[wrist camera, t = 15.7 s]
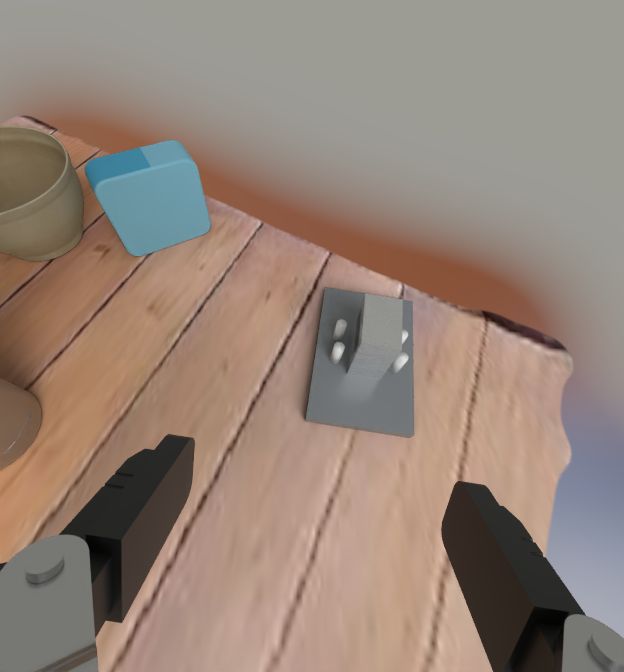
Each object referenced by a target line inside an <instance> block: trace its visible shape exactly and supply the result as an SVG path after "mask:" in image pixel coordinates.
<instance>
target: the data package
mask: <svg viewBox="0 0 624 672" xmlns="http://www.w3.org/2000/svg"><path fill="white" fill-rule="evenodd" d="M85 174H86V176H87V178H88V180H89V183H90V185H91V187H92V189H93V191H94V193H95V196H96V198H97V199H98V201H99V203H100V205H101V206H102V208H103V210H104V211H105V213H106V215H107V217H108V218H109V220H110V222H111V224H112V225H113V227H114V229H115V230H116V232H117V234H118V236H119V237H120V239H121V241H122V243H123V244H124V246H125V248H126V250H127V251H128V252H129V253H130V254H131V255H134V256H144V255H147V254H150V253H152V252H155V251H158V250H161V249H164V248H167V247H170V246H173V245H175V244H178V243H181V242H184V241H187V240H190V239H193V238H195V237H198V236H201V235H204V234H206V233H207V232H208V231H209V229H210V227H211V222H210V218H209V214H208V209H207V205H206V201H205V197H204V193H203V189H202V184H201V180H200V176H199V172H198V168H197V166H196V164H195V162H194V161H193V160H192V158H191V157H190V155H189V154H188V152H187V151H186V149H185V148H184V146H183V145H182V144H181V143H180V142H178V141H175V140H168V141H164V142H160V143H156V144H152V145H148V146H144V147H140V148H136V149H132V150H128V151H123V152H119V153H115V154H111V155H107V156H103V157H99V158H95V159H92V160H90V161H89V162H88V163H87V164H86V166H85Z"/></svg>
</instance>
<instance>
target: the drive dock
mask: <svg viewBox="0 0 624 672" xmlns="http://www.w3.org/2000/svg"><path fill="white" fill-rule="evenodd" d="M364 296H365V294H364V293H357V292H351V291H345V290H339V289H333V288H327V287H325V292H324V298H323V305H322V311H321V318H320V325H319V332H318V338H317V345H316V352H315V359H314V365H313V372H312V379H311V386H310V392H309V399H308V406H307V413H306V419H305V421H307V422H313V423H319V424H325V425H332V426H338V427H344V428H350V429H357V430H363V431H369V432H375V433H382V434H388V435H394V436H400V437H407V438H410V437H412V436H413V435H414V384H413V303H412V301H407V300H403V317H402V350H401V352H400V353H399V355H398V356H397V357H396V359H395V360H394V361H393V363H392V364H391V366H390V367H389V368H388V370H387V371H386V372H385V374H384V375H383V377H382V378H381V379H374V378H368V377H362V376H356V375H350V374H347V368H348V359H349V349H350V339H351V330H352V328H353V325H354V322H355V320H356V317H357V314H358V312H359V309H360V307H361V304H362V301H363V299H364Z"/></svg>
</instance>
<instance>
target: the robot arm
mask: <svg viewBox="0 0 624 672" xmlns="http://www.w3.org/2000/svg"><path fill="white" fill-rule="evenodd" d="M41 418H42V417H41V407H40V404H39V402H38V400H37V399H36V398H35V396H34V395H32V394H31V393H30V392H28V391H26V390H24V389H22V388H20V387H18V386H16V385H14V384H12V383H10V382H8V381H6V380H4V379H2V378H0V470H1V469H3V468H4V467H6V466H7V465H9V464H11V463H12V462H13V461H15V460H16V459H17V458H18V457H19V456H21V455H22V454H23V453H24V452H25V450H26V449H27V448H28V447H29V446H30V444H31V443H32V441H33V440H34V438H35V437H36V435H37V432H38V430H39V428H40V423H41ZM194 447H195V441H194V438H190V437H184V436H177V435H171V434H168V435H166V436H165V437H164V439H163V440H162V441H161V442H160V444H159V445H158V446H157V447H156V449H155V450H150V449H144V450H142V451H140V452H138V453H137V454H135V455H133V456H132V457H130V458H128V459H127V460H126V461H125V462H124V464H123V465H122V466H121V467H120V468H119V469H118V470H117V471H116V473H115V475H113V476H112V477H111V478H110V479H109V480H108V481H107V482H106V483H105V486H104V487H102V488H101V489H100V490H99V491H98V492H97V493H96V494H95V496H94V497H93V498H92V499H91V500H90V501H89V502H88V503H87V504H86V505H85V507H84V508H83V509H82V510H81V511H80V512H79V513H78V514H77V515H76V517H75V518H74V519H73V520H72V521H71V522H70V523H69V524H68V525H67V526H66V528H65V529H64V530H63V531H62V532H61V533H60V534H59V535H57V536H52V537H48V538H45V539H42V540H39V541H37V542H35V543H33V544H31V545H29V546H28V547H26V548H24V549H23V550H21V551H20V552H18V553H17V554H16V555H15V556H14V557H12V558H11V559H10V560H9V561H8V562H6V563H1V564H0V672H98V659H97V648H96V642H95V638H96V636H97V635H98V633H99V631H100V629H101V628H102V626H103V624H104V622H105V621H112V622H119V623H122V622H123V620H124V618H125V616H126V614H127V613H128V611H129V609H130V607H131V605H132V603H133V601H134V599H135V598H136V596H137V594H138V592H139V590H140V588H141V586H142V584H143V582H144V581H145V579H146V577H147V575H148V573H149V571H150V569H151V567H152V566H153V564H154V562H155V560H156V558H157V556H158V554H159V552H160V550H161V549H162V547H163V545H164V543H165V541H166V539H167V537H168V535H169V534H170V532H171V530H172V528H173V526H174V524H175V522H176V520H177V518H178V517H179V515H180V513H181V511H182V509H183V507H184V505H185V503H186V501H187V499H188V496H189V493H190V490H191V485H192V477H193V462H194ZM441 531H442V540H443V544H444V547H445V549H446V552H447V554H448V557H449V560H450V562H451V565H452V567H453V570H454V572H455V575H456V577H457V580H458V583H459V585H460V588H461V590H462V593H463V595H464V598H465V600H466V603H467V606H468V608H469V611H470V613H471V616H472V618H473V621H474V623H475V626H476V629H477V631H478V634H479V636H480V639H481V641H482V644H483V647H484V649H485V652H486V654H487V657H488V659H489V662H490V664H491V667H492V670H493V672H624V639H623V638H622V637H621V636H620V635H619V634H617V633H616V632H615V631H614V630H612V629H611V628H609V627H608V626H606V625H605V624H603V623H601V622H599V621H598V620H595V619H593V618H591V617H588V616H586V615H585V613H584V612H583V610H582V609H581V608H580V606H579V605H578V603H577V602H576V600H575V599H574V598H573V596H572V595H571V593H570V592H569V590H568V589H567V587H566V586H565V585H564V583H563V582H562V580H561V579H560V577H559V576H558V575H557V573H556V572H555V570H554V569H553V567H552V566H551V565H550V563H549V562H548V560H547V559H546V558H545V557H543V553H542V552H541V550H540V549H539V547H538V546H537V544H536V543H534V542H533V539H532V537H531V536H530V534H529V533H528V532H527V530H526V529H525V527H524V526H523V524H522V523H521V522H520V521H519V520H518V519H517V518H516V517H515V516H514V515H513V514H512V513H510V512H509V511H508V510H507V509H506V508H505V507H504V506H500V505H499V504H498V502H497V501H496V499H495V498H494V496H493V495H492V493H491V492H490V490H489V489H488V488H487V487H486V486H485V485H481V484H475V483H468V482H462V481H458V482H456V483H455V485H454V488H453V491H452V494H451V497H450V500H449V503H448V506H447V509H446V512H445V515H444V518H443V521H442V529H441Z"/></svg>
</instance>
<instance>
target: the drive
mask: <svg viewBox="0 0 624 672" xmlns="http://www.w3.org/2000/svg"><path fill="white" fill-rule="evenodd" d="M402 317H403V300H402V299H396V298H390V297H384V296H378V295H372V294H366V293H365V296H364V299H363V301H362V304H361V307H360V309H359V312H358V314H357V317H356V320H355V322H354V325H353V328H352V330H351V339H350V349H349V359H348V368H347V374H350V375H356V376H362V377H368V378H374V379H381V378H382V377H383V375H384V374H385V372H386V371H387V370H388V368H389V367H390V366H391V364H392V363H393V361H394V360H395V359H396V357H397V356H398V355H399V353H400V352H401V350H402Z"/></svg>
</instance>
